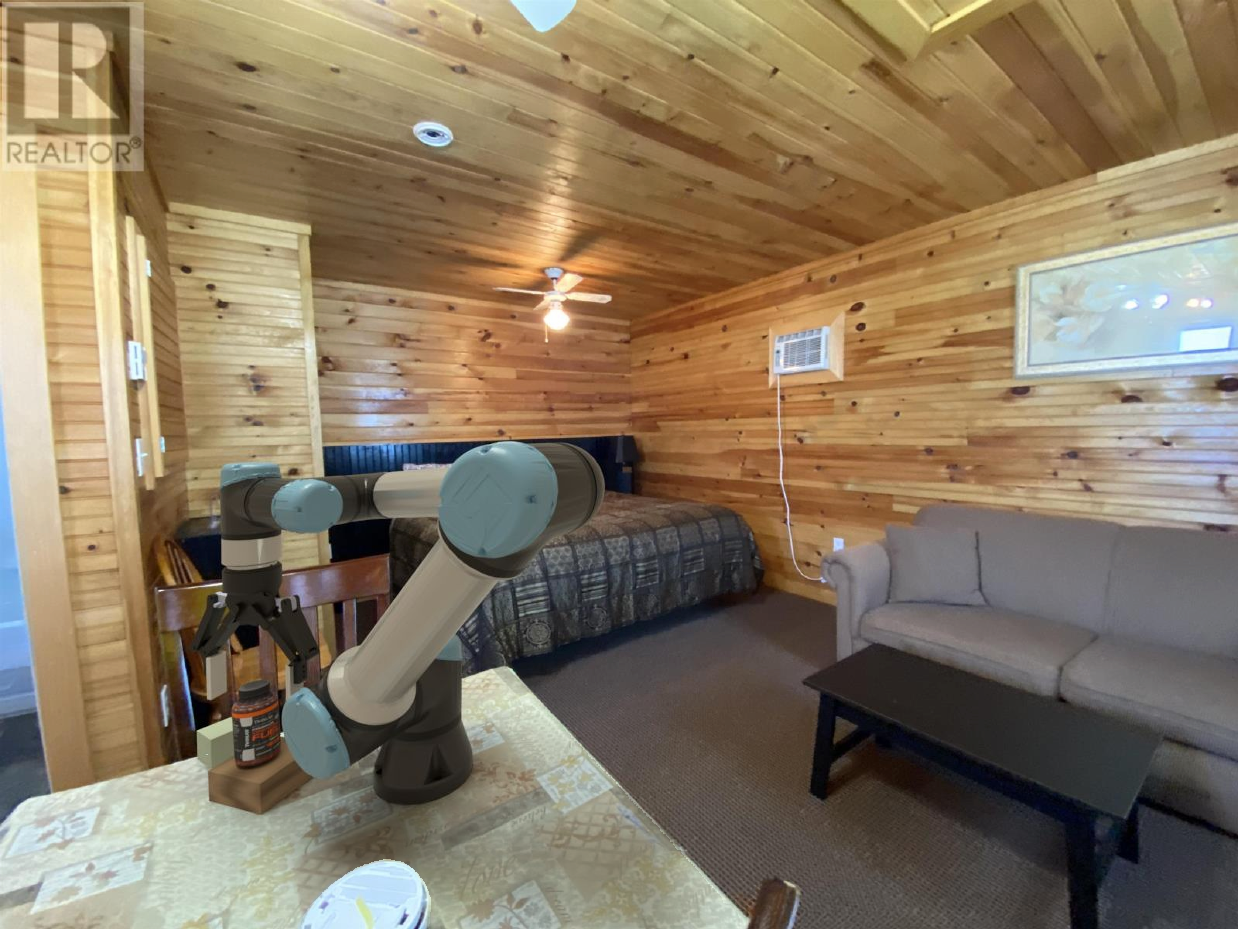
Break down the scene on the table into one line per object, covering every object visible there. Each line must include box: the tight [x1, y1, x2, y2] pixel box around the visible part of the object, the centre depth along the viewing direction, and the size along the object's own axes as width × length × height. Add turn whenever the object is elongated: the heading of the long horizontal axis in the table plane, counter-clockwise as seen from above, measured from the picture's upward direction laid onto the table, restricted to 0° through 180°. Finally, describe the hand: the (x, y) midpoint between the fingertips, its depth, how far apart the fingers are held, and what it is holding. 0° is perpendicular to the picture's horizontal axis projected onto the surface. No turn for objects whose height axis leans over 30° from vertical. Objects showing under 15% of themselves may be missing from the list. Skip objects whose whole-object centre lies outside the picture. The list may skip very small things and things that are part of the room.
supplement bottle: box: [231, 679, 282, 766], centre depth 80 cm, size 6×6×11 cm
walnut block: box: [207, 735, 314, 816], centre depth 81 cm, size 10×10×5 cm
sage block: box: [196, 716, 234, 770], centre depth 88 cm, size 5×5×5 cm
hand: (255, 699), depth 80 cm, fingers open, 13 cm apart
